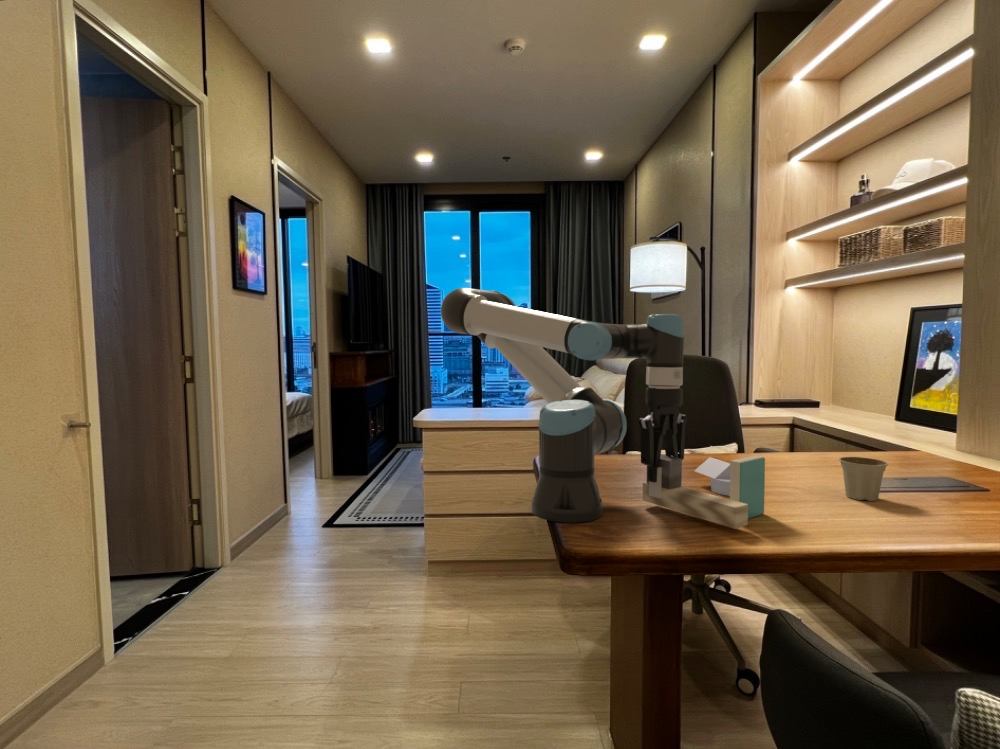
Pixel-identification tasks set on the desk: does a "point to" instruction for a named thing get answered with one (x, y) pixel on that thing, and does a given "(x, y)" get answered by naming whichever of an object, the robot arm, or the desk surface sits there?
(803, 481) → the desk surface
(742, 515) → the bar
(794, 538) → the desk surface
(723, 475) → the wedge on round base
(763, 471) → the tile
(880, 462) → the flower pot
